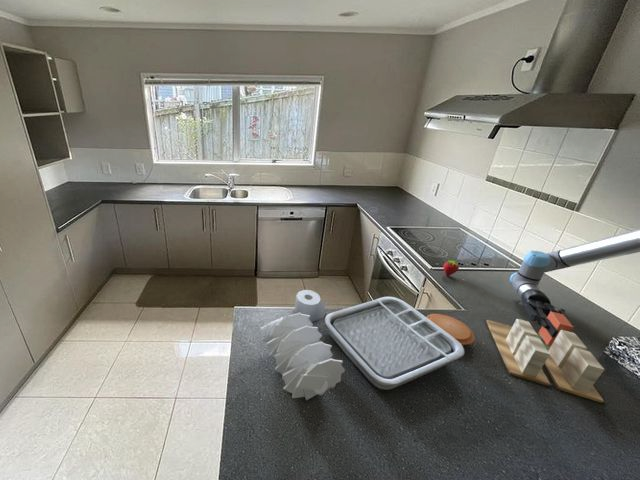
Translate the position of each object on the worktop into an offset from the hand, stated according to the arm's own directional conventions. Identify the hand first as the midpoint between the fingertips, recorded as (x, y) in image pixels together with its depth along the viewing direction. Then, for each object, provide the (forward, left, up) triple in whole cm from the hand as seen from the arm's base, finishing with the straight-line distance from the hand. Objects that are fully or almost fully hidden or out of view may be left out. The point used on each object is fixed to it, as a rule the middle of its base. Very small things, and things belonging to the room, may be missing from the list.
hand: (562, 336), depth 95 cm
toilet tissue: (+63, +56, -8) cm, 85 cm away
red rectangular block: (+2, -4, -6) cm, 7 cm away
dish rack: (+36, +47, -8) cm, 60 cm away
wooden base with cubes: (+9, +9, -8) cm, 15 cm away
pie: (+26, +22, -8) cm, 35 cm away
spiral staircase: (+47, +79, -8) cm, 92 cm away
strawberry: (+43, -24, -8) cm, 50 cm away
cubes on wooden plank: (-2, +3, -8) cm, 9 cm away
